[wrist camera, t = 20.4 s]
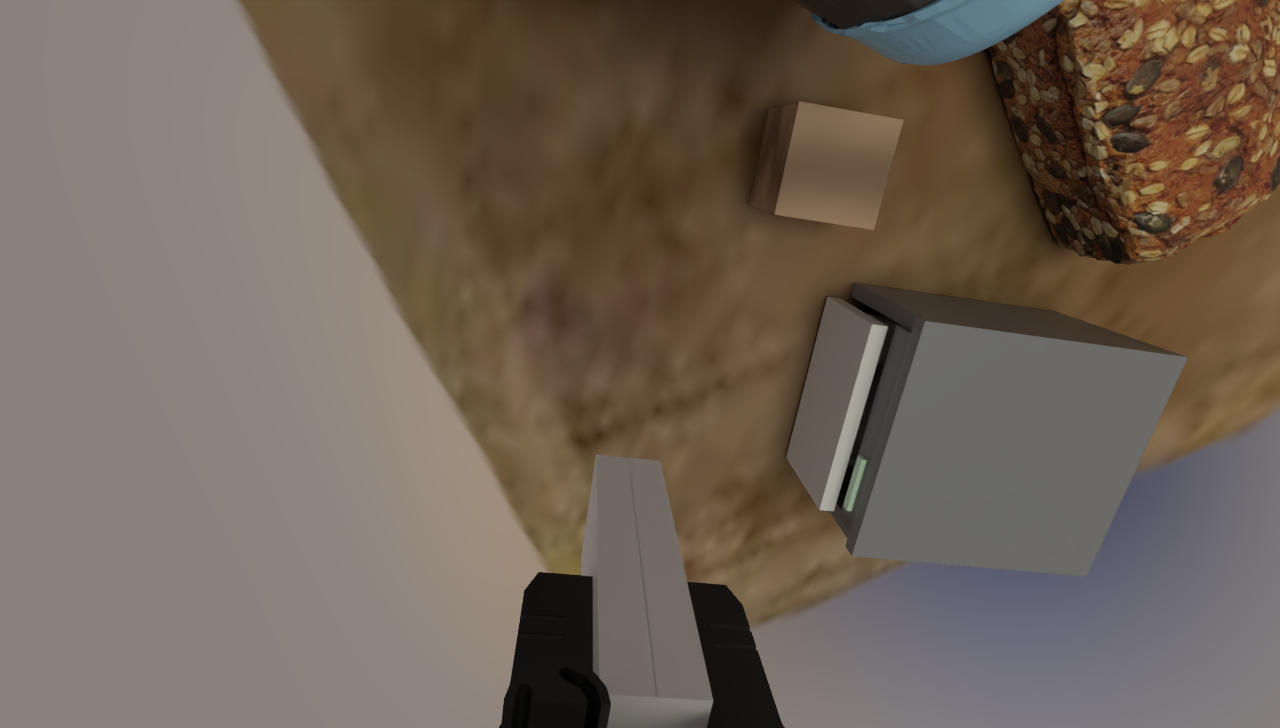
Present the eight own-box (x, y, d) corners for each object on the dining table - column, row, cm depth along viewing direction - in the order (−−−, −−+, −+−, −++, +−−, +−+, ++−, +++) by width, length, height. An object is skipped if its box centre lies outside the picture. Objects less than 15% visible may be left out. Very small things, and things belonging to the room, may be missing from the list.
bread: (952, -5, 37) (1074, -57, 28) (1116, -108, 36) (1301, -199, 27) (1043, 256, 43) (1169, 285, 34) (1187, 175, 42) (1359, 182, 33)
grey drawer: (827, 296, 42) (872, 324, 36) (1031, 325, 44) (1110, 356, 38) (786, 457, 46) (819, 509, 40) (974, 477, 48) (1037, 530, 42)
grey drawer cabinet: (843, 280, 42) (920, 320, 33) (1055, 311, 44) (1187, 357, 35) (793, 470, 47) (847, 555, 37) (986, 490, 49) (1086, 576, 39)
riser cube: (768, 108, 38) (799, 101, 33) (858, 124, 39) (903, 119, 33) (748, 205, 40) (774, 214, 35) (835, 219, 41) (873, 229, 35)
